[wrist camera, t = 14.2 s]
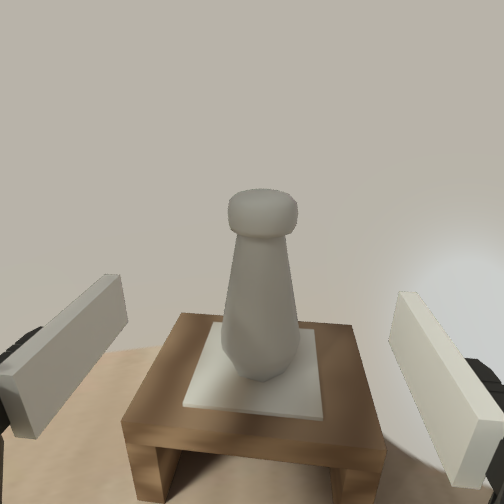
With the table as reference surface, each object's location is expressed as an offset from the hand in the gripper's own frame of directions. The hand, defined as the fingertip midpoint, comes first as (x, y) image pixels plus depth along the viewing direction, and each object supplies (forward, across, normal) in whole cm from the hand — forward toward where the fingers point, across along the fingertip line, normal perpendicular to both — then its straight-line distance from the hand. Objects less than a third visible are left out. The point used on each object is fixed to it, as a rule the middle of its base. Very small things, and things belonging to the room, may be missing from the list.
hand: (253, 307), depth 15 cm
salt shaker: (+6, 0, -9) cm, 11 cm away
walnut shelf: (+6, 0, -17) cm, 18 cm away
